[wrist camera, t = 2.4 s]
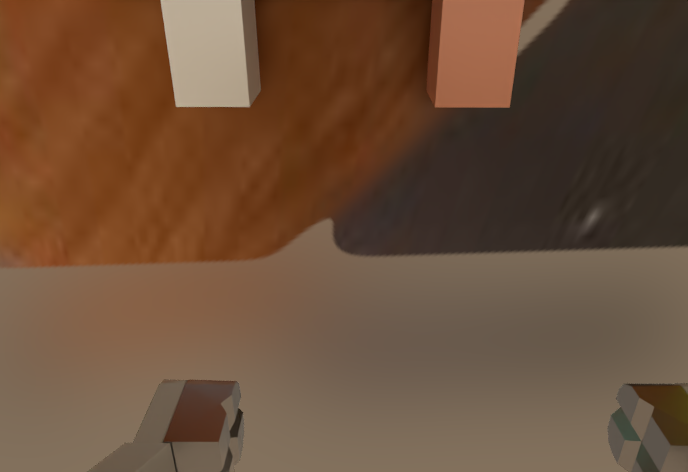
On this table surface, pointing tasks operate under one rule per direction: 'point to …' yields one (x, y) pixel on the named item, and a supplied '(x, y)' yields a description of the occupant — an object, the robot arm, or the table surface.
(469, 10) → the rust plug
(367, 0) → the table surface
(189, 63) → the beige plug
